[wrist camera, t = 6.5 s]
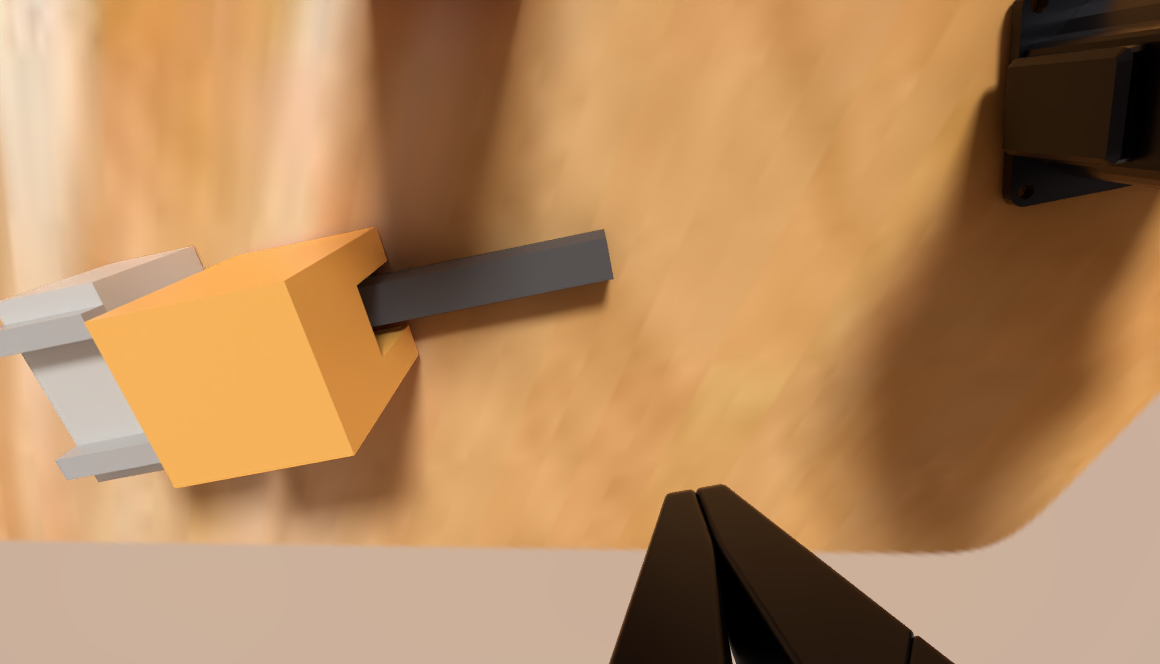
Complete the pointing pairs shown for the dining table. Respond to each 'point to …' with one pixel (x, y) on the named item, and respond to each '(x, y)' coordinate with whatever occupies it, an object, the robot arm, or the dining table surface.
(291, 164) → the dining table surface
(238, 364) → the notched orange cube
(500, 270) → the bar
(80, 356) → the grey i-beam piece
